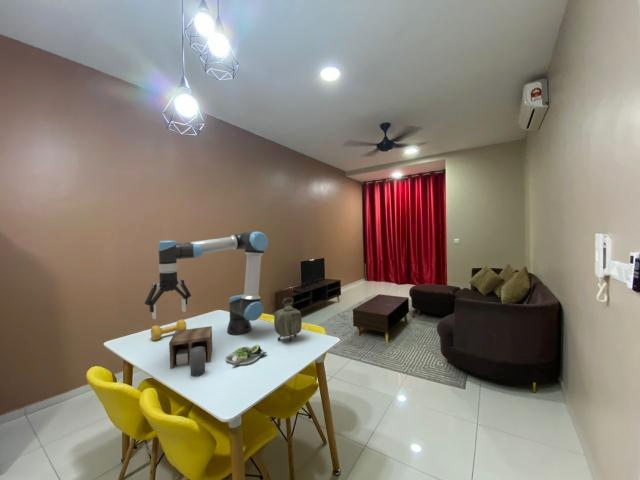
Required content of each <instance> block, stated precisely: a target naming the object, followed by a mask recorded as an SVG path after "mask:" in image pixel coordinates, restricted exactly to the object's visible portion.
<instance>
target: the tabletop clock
mask: <svg viewBox="0 0 640 480" xmlns="http://www.w3.org/2000/svg"><path fill="white" fill-rule="evenodd" d="M286 300H292V301H291V302H286V303H284V302H285V301H286ZM281 302H282V305H284V307H283V308H281V309H278V310H276V311H275V313H274V318H273V321H274V322H273V324H274V326H273V327H274V331H275V332H276V334H277V335H279V337H277V341H280V340H281V338H287V337H289V340H288V341H289V342H292V341H293V339H292V336H294V337H297V335H298V334H300V333H301V332H302V323H303V322H302V321H303V320H302V313H301V310H298V309H297V308H294V307H292V306H291V305H292V304H293V303H294V299H293V298H292V297H286V298H284V299H283V300H282V301H281Z"/></svg>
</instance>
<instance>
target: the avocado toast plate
mask: <svg viewBox="0 0 640 480" xmlns="http://www.w3.org/2000/svg"><path fill="white" fill-rule="evenodd" d="M266 354H267V351H264V350H263V349H261V345H259V344H255V345H253V347H252V346H243V347H242V346H241V347H239V348H237V349H235V350H234V351H232V352H231V353H229V354H228V355H227V356H225V360H226V362H227V363H229V364H230V365H232V366H233V367H235V366H244V365H245V366H246V365H248V364H253V363H254V362H256V361H257V360H259V359H260V358H261V357H262V356H264V355H266ZM235 356H236V360H233V358H234V357H235ZM258 358H259V359H258Z"/></svg>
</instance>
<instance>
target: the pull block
mask: <svg viewBox="0 0 640 480" xmlns="http://www.w3.org/2000/svg"><path fill="white" fill-rule="evenodd" d="M207 359H208V353H207V349H206V347H203V346H198V347H194V348H192V349H190V365H189V367H190V368H189V369H190V370H189V371H190V376H191V377H195V378H196V377H199V376H202V375H204V374H205V372H206V362H207Z"/></svg>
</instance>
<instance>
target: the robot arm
mask: <svg viewBox="0 0 640 480" xmlns="http://www.w3.org/2000/svg"><path fill="white" fill-rule="evenodd" d="M268 245H269V239H268V237H267V236H266V234H265V233H263V232H261V231H244V232H242V233H237V234H231V235H230V236H226V237H220V238H213V239H211V238H210V239H205V240H196V241H189V242H178V243H177V241H176V240H160V241H159V242H158V250H157V251H158V268H159V269H158V270H159V271H158V272H159V275H158V276H159V277H158V278H159V283H152V284H151V289H150V290H149V293H148V296H147V297H146V300H145V301H144V304H145V305H147V306H149V312H150V313H151V318H152V319H153V320H156V319H157V305H156V303H157V301H158V300H159V299H160V297H161V296H162V295H163V294H164V293H165V292H172V291H175V292H176V293H177V294H178V295H180V296H181V312H183V313H186V312H187V305H188V299H189V298H190V297H191V296H192V295H191V291H189V289H188V288H187V285H186V284H185V280H184V279H179V280H178V262H177V261H178V260H180V259H181V260H182V259H196V258H201V257H202V254H208V253H213V252H219V251H220V252H221V251H226V250H227V251H228V250H234V251H235V250H236V251H237V250H244V254H245V255H246V264H245V265H246V266H245V279H244V290H243V291H244V292H243V294H239V295H233V296H230V297H229V298H228V299H229V301H228V306H229V307H228V308H229V322H228V325H227V329H226V332H227V334H228V335H232V336H233V335H234V336H238V335H244V334H248V333H250V332H251V331H252V325H251V322H253V321H254V322H255V321H256V320H259V318H260V317H261V316H262V315H263V313H264V306H263V304H262V303H261V299H262V298H261V296H260V295H259V291H260V290H259V289H260V275H261V264H262V256H263V255H264V254H265V250H266V249H267V247H268ZM178 285H179V286H180V287H181V289H182V290H183V291H182V290H181V289H180V287H178ZM158 288H159V290H158V291H157V289H158ZM156 291H157V293H156ZM155 293H156V294H155Z"/></svg>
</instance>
